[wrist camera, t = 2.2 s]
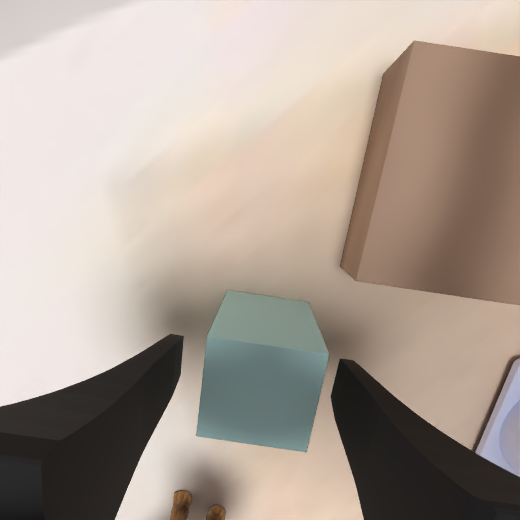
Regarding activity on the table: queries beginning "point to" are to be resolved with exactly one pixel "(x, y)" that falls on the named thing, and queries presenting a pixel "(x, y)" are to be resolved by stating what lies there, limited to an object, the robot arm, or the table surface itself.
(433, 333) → the table surface
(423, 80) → the walnut base block
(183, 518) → the lion figurine
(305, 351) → the teal brick
